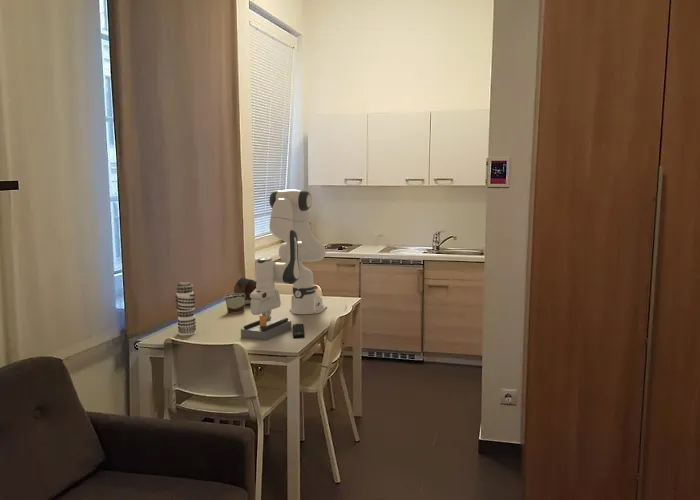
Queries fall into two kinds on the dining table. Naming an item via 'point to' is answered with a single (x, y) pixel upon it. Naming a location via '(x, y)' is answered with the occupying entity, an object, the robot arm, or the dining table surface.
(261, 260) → the robot arm
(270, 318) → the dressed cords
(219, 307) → the dining table surface
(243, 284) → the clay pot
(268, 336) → the tray
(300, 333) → the remote control
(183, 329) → the decorative candle
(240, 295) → the food container
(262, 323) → the lever
